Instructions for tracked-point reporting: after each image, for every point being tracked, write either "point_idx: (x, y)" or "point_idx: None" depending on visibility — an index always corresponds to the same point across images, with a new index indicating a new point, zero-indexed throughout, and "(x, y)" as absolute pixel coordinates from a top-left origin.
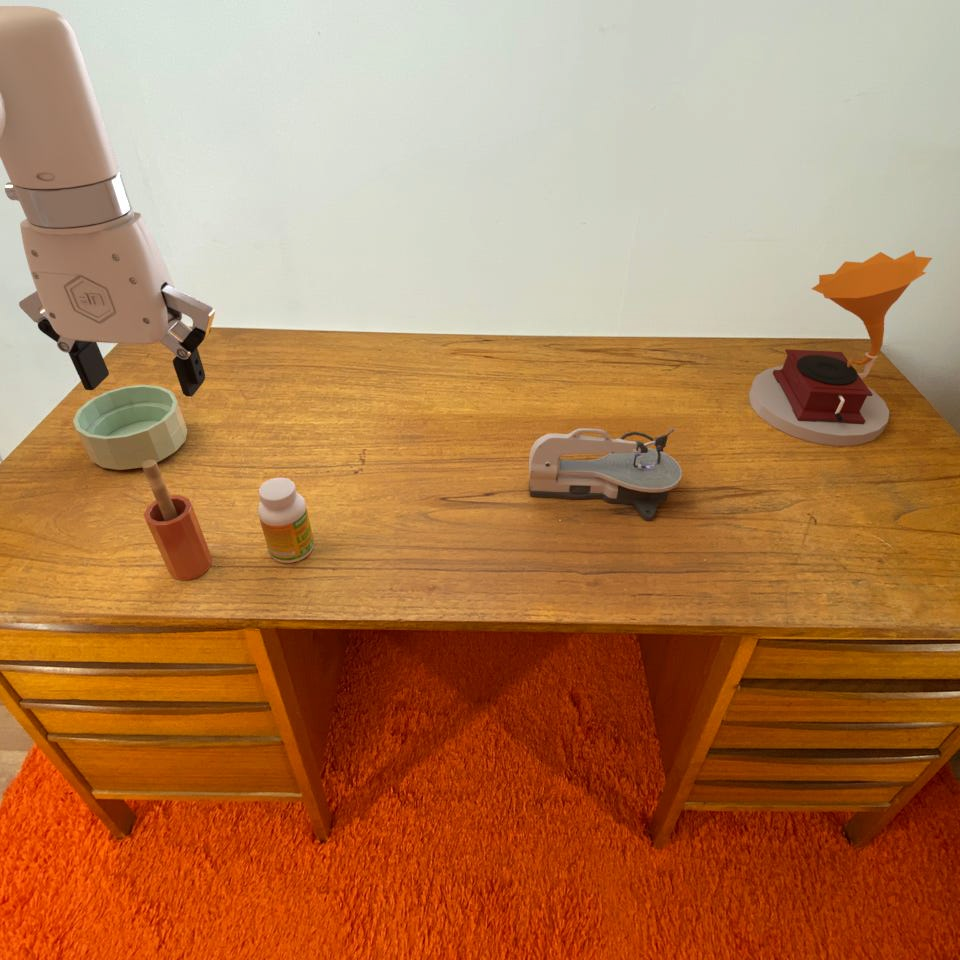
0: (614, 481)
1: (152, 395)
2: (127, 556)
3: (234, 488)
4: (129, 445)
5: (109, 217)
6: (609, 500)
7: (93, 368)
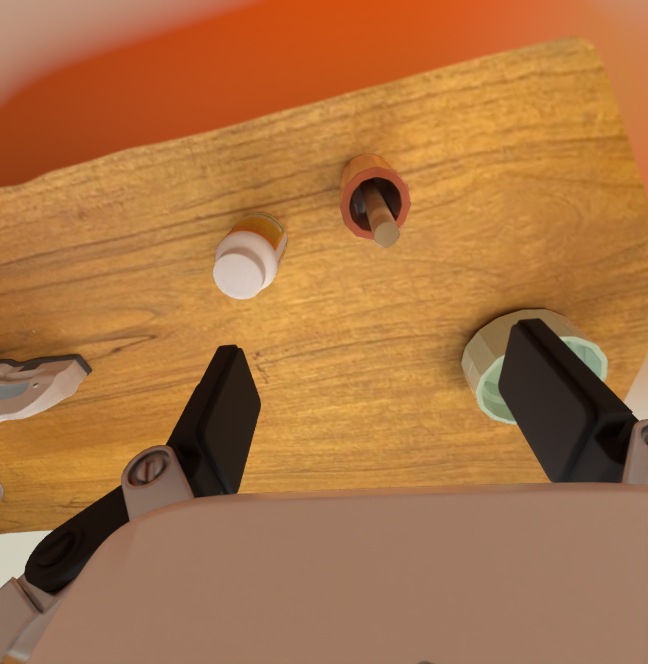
0: None
1: None
2: (455, 177)
3: (374, 310)
4: None
5: None
6: (6, 361)
7: (530, 385)
